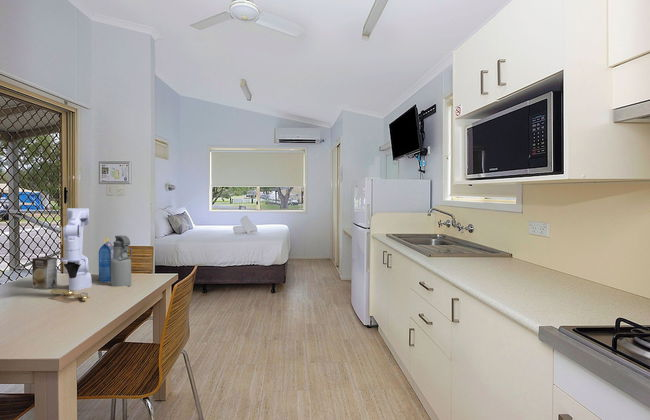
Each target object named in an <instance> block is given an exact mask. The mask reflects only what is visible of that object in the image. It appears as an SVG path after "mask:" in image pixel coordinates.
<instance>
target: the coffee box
mask: <svg viewBox="0 0 650 420" xmlns="http://www.w3.org/2000/svg"><path fill="white" fill-rule="evenodd" d="M31 261H32V262H31V263H32V264H31V267H32V269H31V270H32V273H31V274H32V289H39V290H40V289H43V290H49V289H52V288H55V287H57V286H58V285H57V284H58V280H57V279H58V277H57V276H58V275H57V274H58V267H57V266H58V257H53V256H39V257H35V258H34V257H33V258H32V260H31Z"/></svg>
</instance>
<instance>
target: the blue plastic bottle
mask: <svg viewBox="0 0 650 420" xmlns="http://www.w3.org/2000/svg"><path fill="white" fill-rule="evenodd" d="M112 259H114V245H113V244H112V243H111V242H109V237H108V236H107V237H106V238H104V244H103V245H102V246H101V247H100V248H99V250H98V281H99V282H103V283H106V282H111V260H112Z"/></svg>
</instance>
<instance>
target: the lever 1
mask: <svg viewBox="0 0 650 420" xmlns="http://www.w3.org/2000/svg"><path fill="white" fill-rule="evenodd" d="M50 294H59V295H64V296H70V295H74V294H75V290H69V289H62V288H61V289H59V288H58V289H54V288H53V289H51V290H50Z"/></svg>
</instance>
